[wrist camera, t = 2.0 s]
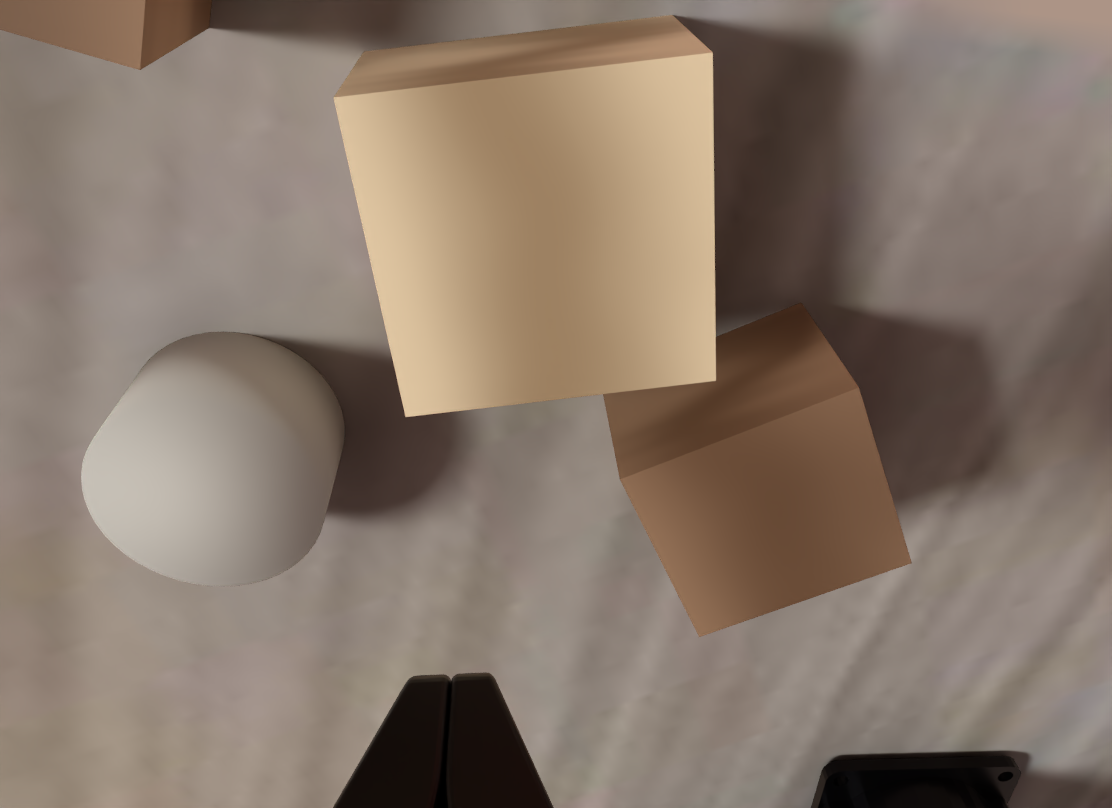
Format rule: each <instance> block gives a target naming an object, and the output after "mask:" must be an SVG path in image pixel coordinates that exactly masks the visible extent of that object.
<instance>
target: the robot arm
mask: <svg viewBox="0 0 1112 808" xmlns="http://www.w3.org/2000/svg"><path fill="white" fill-rule="evenodd" d="M1020 775H1021V772H1020V770H1019V768H1018V766H1017V765H1016V763H1015V761H1014V759H1013V758H1011V757H1007V756H992V757H952V758H913V759H874V760H839V761H833V762H831V763H828V764H827V765H826V766H825V767H824V768H823V770H822V772H821V775H820V779H819V782H818V786H817V789H816V793H815V796H814V799H813V803H812V806H811V808H1009V807H1008V805H1007V803H1008V801H1009V799H1010V797H1011V795H1012V793H1013V791H1014V788H1015V786H1016V784H1017V782H1018V780H1019V778H1020ZM333 808H553V805H552V803H551V801H550V799H549V797H548V794H547V792H546V790H545V788H544V786H543V783H542V781H541V779H540V777H539V775H538V772H537V770H536V768H535V766H534V764H533V761H532V759H531V757H530V755H529V753H528V750H527V748H526V746H525V744H524V742H523V739H522V737H521V735H520V733H519V731H518V728H517V726H516V724H515V722H514V720H513V717H512V715H511V713H510V711H509V709H508V706H507V704H506V702H505V700H504V698H503V695H502V693H501V691H500V689H499V687H498V684H497V682H496V680H495V678H494V677H493V676H492V675H491V674H490V673H465V674H457V675H455V676H454V677H453V678H452V681H451V679H450V678H449V677H448V676H447V675H420V676H413V677H411V678H410V679H409V680H408V681H407V682H406V684H405V685H404V687H403V689H402V690H401V692H400V694H399V695H398V697H397V699H396V701H395V702H394V704H393V706H392V707H391V709H390V711H389V713H388V714H387V716H386V718H385V719H384V721H383V723H382V725H381V726H380V728H379V730H378V731H377V733H376V735H375V737H374V738H373V740H372V742H371V743H370V745H369V747H368V749H367V750H366V752H365V754H364V755H363V757H362V759H361V760H360V762H359V764H358V766H357V767H356V769H355V771H354V772H353V774H352V776H351V778H350V779H349V781H348V783H347V784H346V786H345V788H344V790H343V791H342V793H341V795H340V796H339V798H338V800H337V802H336V803H335V805H334V807H333Z"/></svg>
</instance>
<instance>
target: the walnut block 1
mask: <svg viewBox="0 0 1112 808" xmlns="http://www.w3.org/2000/svg"><path fill="white" fill-rule="evenodd" d="M211 5H212V0H0V30H4V31H7V32H11V33H14V34H18V35H21V36H24V37H28V38H31V39H35V40H38V41H42V42H45V43H49V44H52V45H56V46H59V47H62V48H66V49H69V50H73V51H76V52H80V53H83V54H87V55H90V56H94V57H97V58H100V59H104V60H107V61H111V62H114V63H118V64H121V65H125V66H128V67H132V68H135V69H138V70H141V69H142V68H144V67H146V66H147V65H149V64H151V63H152V62H154V61H156V60H157V59H159V58H160V57H162V56H164V55H165V54H167V53H169V52H170V51H172V50H174V49H175V48H177V47H178V46H180V45H182V44H183V43H185V42H187V41H188V40H190V39H192V38H193V37H195V36H196V35H198V34H200V33H201V32H203V31H205V30H206V29H208V28H209V23H210V14H211Z"/></svg>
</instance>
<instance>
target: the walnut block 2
mask: <svg viewBox="0 0 1112 808" xmlns="http://www.w3.org/2000/svg"><path fill="white" fill-rule="evenodd" d="M603 396H604V401H605V406H606V411H607V416H608V421H609V426H610V431H611V436H612V441H613V446H614V451H615V456H616V461H617V466H618V471H619V476H620V480H621V482H622V484H623V486H624V488H625V490H626V492H627V494H628V496H629V498H630V500H631V502H632V504H633V506H634V508H635V510H636V512H637V514H638V516H639V518H640V520H641V522H642V524H643V526H644V528H645V530H646V532H647V534H648V536H649V538H650V540H651V542H652V544H653V546H654V548H655V550H656V552H657V554H658V556H659V558H660V560H661V562H662V564H663V566H664V568H665V570H666V572H667V574H668V576H669V578H670V580H671V582H672V584H673V586H674V588H675V590H676V592H677V594H678V596H679V598H680V599H681V601H682V603H683V605H684V607H685V609H686V611H687V613H688V615H689V617H690V619H691V621H692V623H693V625H694V627H695V629H696V631H697V633H698V635H699V637H701V636H703V635H706V634H709V633H712V632H715V631H718V630H721V629H723V628H726V627H729V626H732V625H735V624H738V623H741V622H744V621H746V620H749V619H752V618H755V617H758V616H761V615H764V614H767V613H769V612H772V611H775V610H778V609H781V608H784V607H787V606H790V605H792V604H795V603H798V602H801V601H804V600H807V599H810V598H813V597H815V596H818V595H821V594H824V593H827V592H830V591H833V590H836V589H838V588H841V587H844V586H847V585H850V584H853V583H856V582H859V581H861V580H864V579H867V578H870V577H873V576H876V575H879V574H882V573H884V572H887V571H890V570H893V569H896V568H899V567H902V566H905V565H907V564H910V563H911V559H910V556H909V553H908V549H907V546H906V543H905V539H904V536H903V533H902V529H901V526H900V523H899V519H898V516H897V513H896V509H895V506H894V503H893V499H892V496H891V493H890V489H889V486H888V483H887V479H886V476H885V473H884V469H883V466H882V463H881V459H880V456H879V453H878V449H877V446H876V443H875V439H874V436H873V433H872V429H871V426H870V423H869V419H868V416H867V413H866V409H865V406H864V403H863V399H862V396H861V393H860V389H859V387H858V385H857V384H856V383H855V381H854V380H853V378H852V377H851V375H850V374H849V372H848V371H847V369H846V368H845V366H844V365H843V363H842V362H841V360H840V359H839V357H838V356H837V354H836V353H835V351H834V350H833V349H832V347H831V346H830V344H829V343H828V341H827V340H826V338H825V337H824V335H823V334H822V332H821V331H820V329H819V328H818V326H817V325H816V323H815V322H814V320H813V319H812V318H811V316H810V315H809V313H808V312H807V310H806V309H805V307H804V306H803V304H802V303H799V304H796V305H794V306H791V307H789V308H786V309H784V310H781V311H779V312H776V313H774V314H772V315H769V316H767V317H764V318H762V319H759V320H757V321H754V322H752V323H749V324H747V325H744V326H742V327H739V328H737V329H734V330H732V331H729V332H727V333H724V334H722V335H720V336H717V337H716V381H710V382H702V383H693V384H685V385H676V386H668V387H659V388H650V389H642V390H633V391H625V392H616V393H608V394H603Z"/></svg>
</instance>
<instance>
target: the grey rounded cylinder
mask: <svg viewBox="0 0 1112 808" xmlns="http://www.w3.org/2000/svg"><path fill="white" fill-rule="evenodd" d="M344 439H345V424H344V419H343V414H342V411H341V408H340V405H339V402H338V400H337V398H336V396H335V394H334V392H333V390H332V389H331V387H330V386H329V384H328V383H327V382H326V380H325V379H324V378H323V377H322V376H321V374H320V373H319V372H318V371H317V370H316V369H315V368H314V367H313V366H311V365H310V364H309V363H308V362H307V361H306V360H304V359H303V358H301V357H300V356H299V355H297V354H296V353H294V352H293V351H291V350H289V349H287V348H285V347H283V346H282V345H279V344H277V343H274V342H272V341H270V340H267V339H264V338H260V337H257V336H253V335H248V334H243V333H236V332H208V333H202V334H196V335H192V336H189V337H186V338H182V339H180V340H177V341H175V342H173V343H171V344H169V345H167V346H166V347H164V348H163V349H161V350H160V351H158V352H157V353H156V354H155V355H154V356H152V357H151V358H150V359H149V360H148V361H147V363H146V364H145V365H144V366H143V368H142V369H141V370H140V372H139V373H138V375H137V376H136V378H135V379H134V380H133V382H132V383H131V385H130V386H129V388H128V389H127V391H126V392H125V393H124V395H123V396H122V398H121V399H120V401H119V402H118V404H117V405H116V406H115V408H114V409H113V411H112V412H111V414H110V415H109V417H108V418H107V419H106V421H105V422H104V424H103V425H102V427H101V428H100V430H99V431H98V432H97V434H96V435H95V437H94V438H93V440H92V442H91V443H90V445H89V447H88V449H87V451H86V454H85V457H84V460H83V465H82V472H81V481H82V490H83V495H84V499H85V502H86V505H87V507H88V510H89V512H90V514H91V516H92V518H93V519H94V521H95V523H96V524H97V526H98V527H99V528H100V530H101V531H102V533H103V534H104V535H105V536H106V537H107V538H108V539H109V540H110V541H111V542H112V543H113V545H115V546H116V547H117V548H118V549H119V550H120V551H122V552H123V553H124V554H125V555H127V556H128V557H130V558H131V559H133V560H134V561H136V562H137V563H139V564H141V565H142V566H144V567H146V568H148V569H150V570H152V571H154V572H157V573H159V574H161V575H164V576H166V577H169V578H172V579H176V580H179V581H183V582H187V583H192V584H198V585H205V586H222V587H225V586H240V585H246V584H252V583H256V582H260V581H263V580H267V579H269V578H272V577H274V576H277V575H279V574H281V573H282V572H284V571H286V570H288V569H290V568H291V567H292V566H294V565H295V564H296V563H298V562H299V561H300V560H301V559H302V558H303V557H304V556H305V555H306V554H307V553H308V552H309V551H310V549H311V548H312V547H313V545H314V544H315V542H316V540H317V538H318V536H319V534H320V532H321V529H322V526H323V523H324V519H325V515H326V511H327V507H328V504H329V500H330V496H331V492H332V488H333V485H334V481H335V477H336V473H337V469H338V466H339V462H340V458H341V454H342V450H343V446H344Z"/></svg>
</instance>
